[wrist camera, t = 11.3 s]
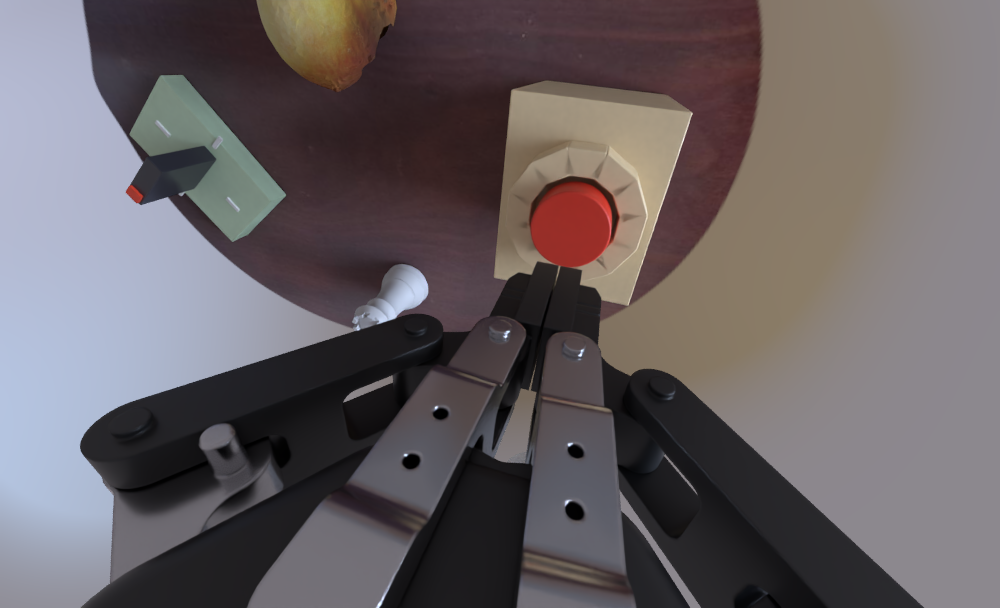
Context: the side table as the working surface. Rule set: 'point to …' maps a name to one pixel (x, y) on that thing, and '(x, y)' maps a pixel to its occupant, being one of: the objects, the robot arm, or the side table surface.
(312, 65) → the fruit
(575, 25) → the side table surface
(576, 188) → the red push button
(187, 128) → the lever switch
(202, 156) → the black box
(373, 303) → the rook chess piece
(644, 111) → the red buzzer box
